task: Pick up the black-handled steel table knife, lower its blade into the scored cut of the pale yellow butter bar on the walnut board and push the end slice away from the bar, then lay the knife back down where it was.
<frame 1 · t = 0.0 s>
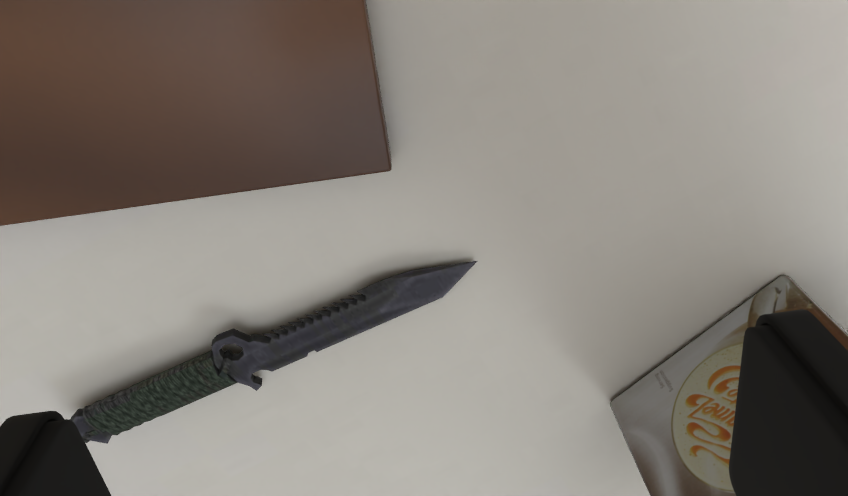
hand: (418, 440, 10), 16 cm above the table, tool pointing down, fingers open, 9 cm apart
knife: (269, 341, 28), on the table
coffee box: (732, 373, 30), on the table
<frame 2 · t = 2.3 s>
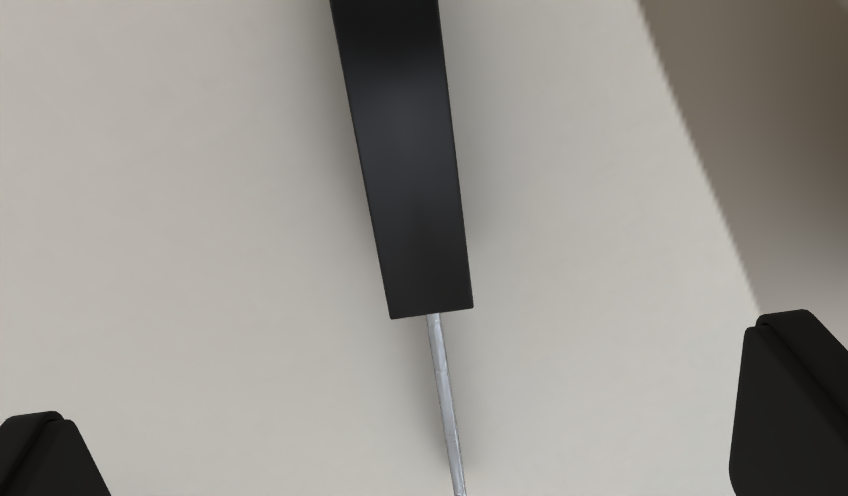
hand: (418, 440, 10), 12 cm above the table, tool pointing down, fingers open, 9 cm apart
table knife: (405, 123, 21), on the table
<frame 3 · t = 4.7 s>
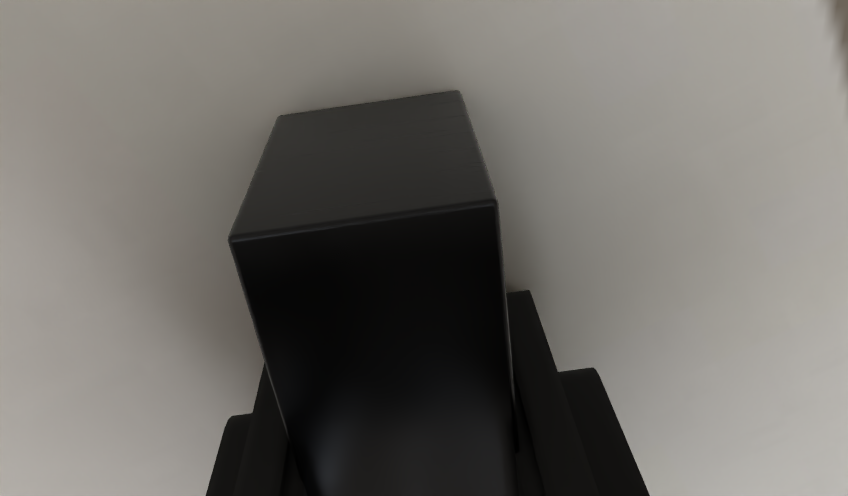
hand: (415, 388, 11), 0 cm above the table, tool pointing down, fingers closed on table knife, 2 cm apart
table knife: (415, 372, 11), on the table, touching gripper
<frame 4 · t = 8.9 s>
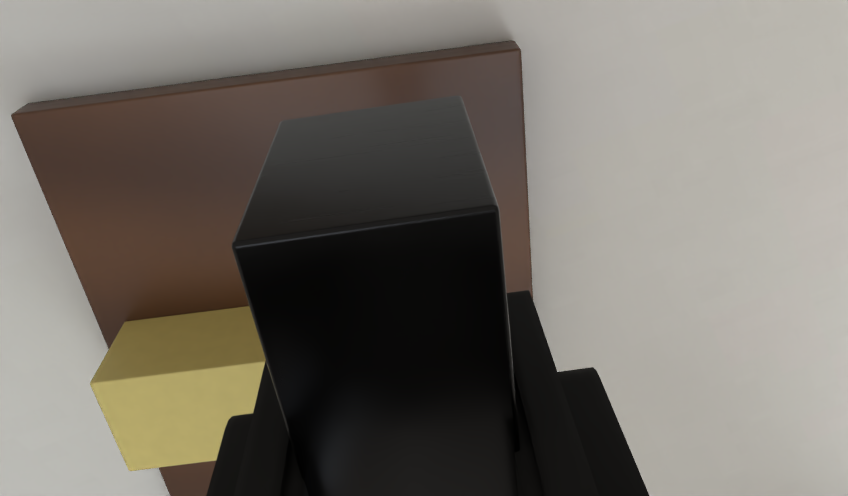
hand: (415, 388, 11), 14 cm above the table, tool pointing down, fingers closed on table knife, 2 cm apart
butter block: (219, 354, 26), point 1 cm above the table, touching board
board: (326, 322, 27), on the table
table knife: (416, 375, 11), point 14 cm above the table, touching gripper
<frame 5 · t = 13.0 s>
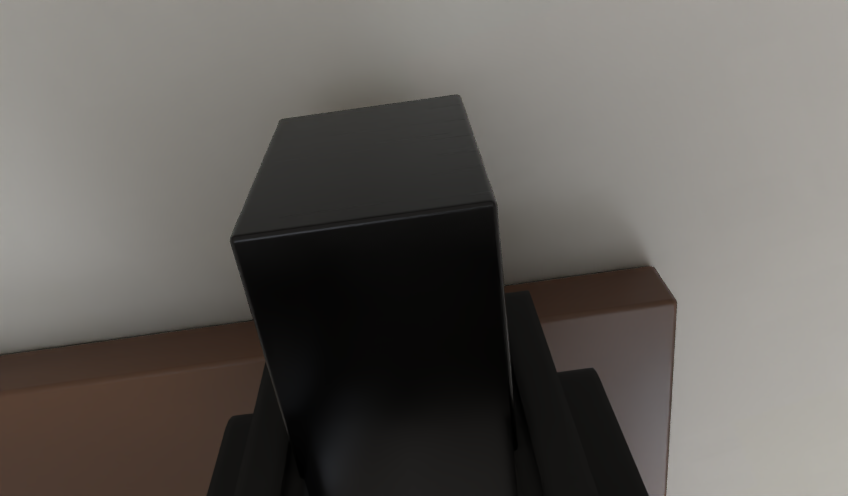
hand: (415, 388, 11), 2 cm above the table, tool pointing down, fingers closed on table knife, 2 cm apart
table knife: (415, 375, 11), point 1 cm above the table, touching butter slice, gripper
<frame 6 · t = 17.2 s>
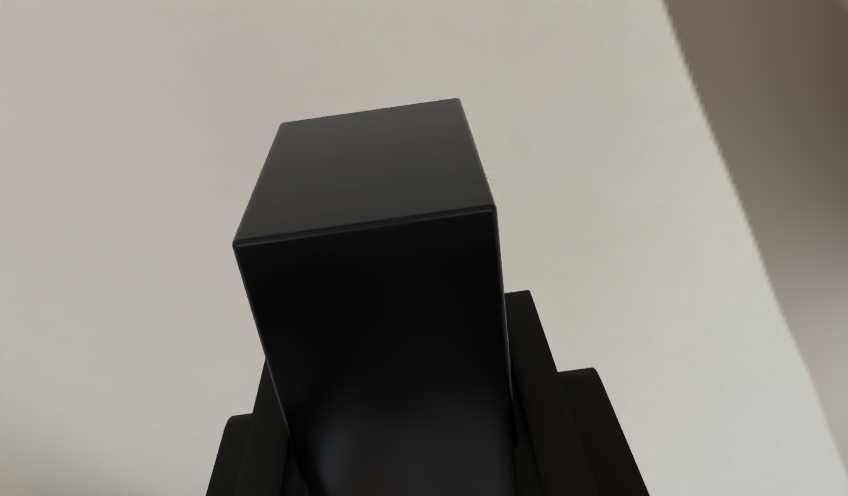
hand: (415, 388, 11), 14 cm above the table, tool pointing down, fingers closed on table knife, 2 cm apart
table knife: (415, 376, 11), point 14 cm above the table, touching gripper
when the fingers open (1 cm above the table, at t = 20.5 s): table knife stays where it is, on the table.
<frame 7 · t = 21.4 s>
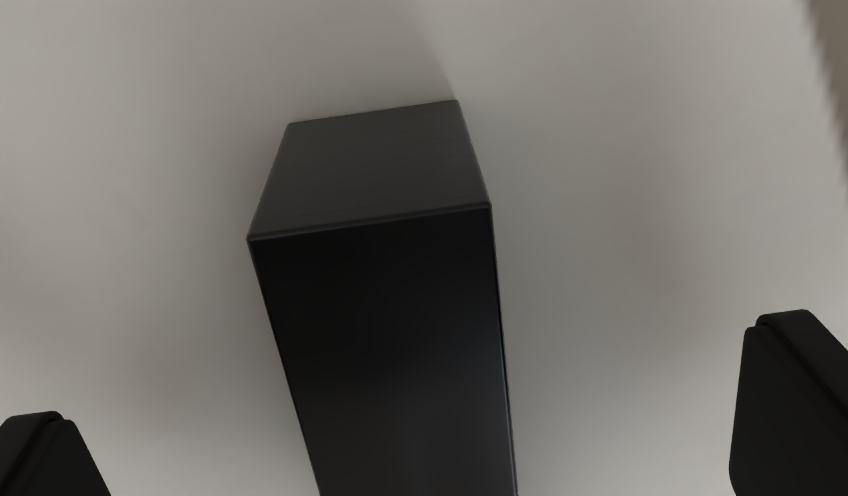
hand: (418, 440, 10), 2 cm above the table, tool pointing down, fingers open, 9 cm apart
table knife: (416, 365, 12), on the table
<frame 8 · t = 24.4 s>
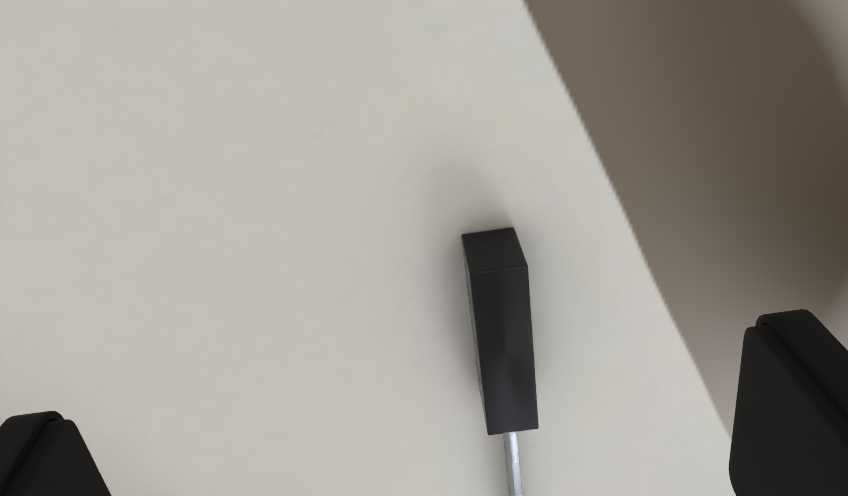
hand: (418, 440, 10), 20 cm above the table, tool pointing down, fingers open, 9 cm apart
table knife: (495, 312, 33), on the table
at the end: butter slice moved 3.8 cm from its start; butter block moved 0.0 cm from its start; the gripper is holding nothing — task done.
